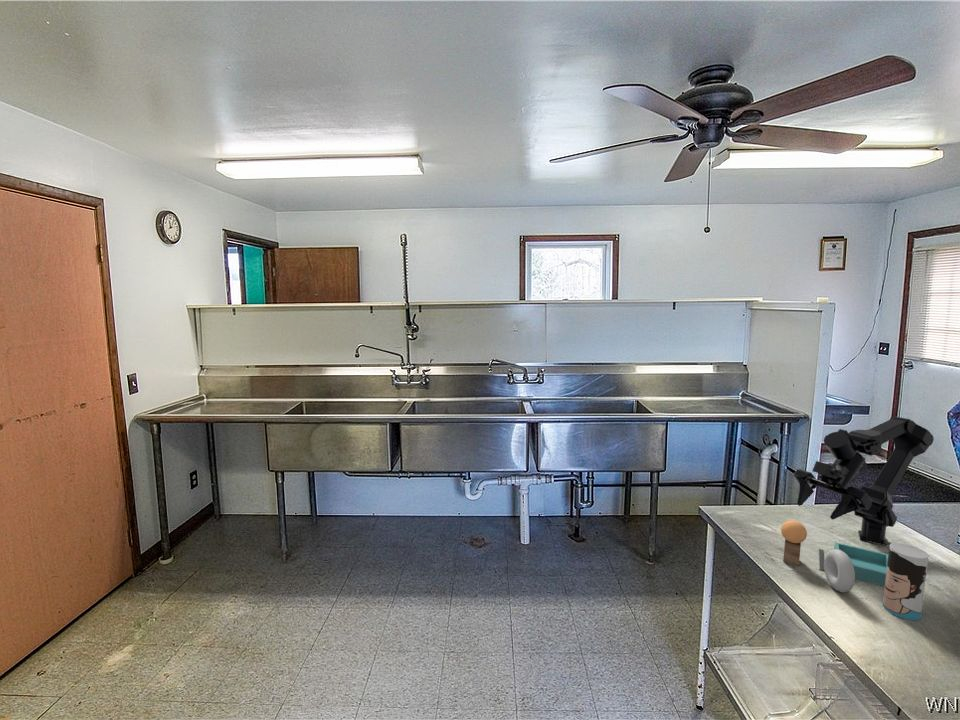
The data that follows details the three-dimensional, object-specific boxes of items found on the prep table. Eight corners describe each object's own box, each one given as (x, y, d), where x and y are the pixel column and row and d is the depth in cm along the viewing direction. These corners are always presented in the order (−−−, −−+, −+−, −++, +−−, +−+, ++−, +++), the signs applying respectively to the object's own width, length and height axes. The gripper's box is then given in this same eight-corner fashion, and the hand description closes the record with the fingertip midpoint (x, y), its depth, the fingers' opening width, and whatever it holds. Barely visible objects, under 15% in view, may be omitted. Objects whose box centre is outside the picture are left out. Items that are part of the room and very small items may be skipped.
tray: (833, 552, 138) (834, 541, 137) (888, 565, 131) (889, 554, 131) (835, 573, 127) (836, 561, 127) (894, 588, 120) (896, 576, 120)
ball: (780, 534, 137) (782, 514, 136) (806, 540, 133) (807, 520, 132) (779, 543, 132) (781, 522, 131) (805, 549, 128) (807, 528, 128)
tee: (783, 556, 136) (785, 536, 135) (799, 559, 134) (800, 540, 133) (783, 561, 133) (785, 541, 132) (798, 565, 131) (800, 545, 130)
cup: (884, 598, 116) (891, 540, 115) (922, 611, 112) (929, 550, 110) (880, 610, 112) (887, 550, 110) (919, 624, 107) (927, 561, 105)
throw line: (819, 549, 139) (819, 548, 139) (823, 550, 139) (823, 549, 139) (819, 569, 129) (819, 569, 129) (824, 571, 128) (824, 570, 128)
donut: (856, 602, 115) (860, 563, 114) (840, 600, 116) (844, 561, 114) (834, 578, 125) (838, 542, 123) (819, 577, 125) (823, 541, 124)
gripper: (800, 442, 142) (770, 483, 140) (869, 462, 125) (837, 508, 123) (816, 464, 146) (787, 504, 144) (885, 486, 129) (854, 532, 126)
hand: (814, 511), depth 134 cm, fingers open, 9 cm apart
